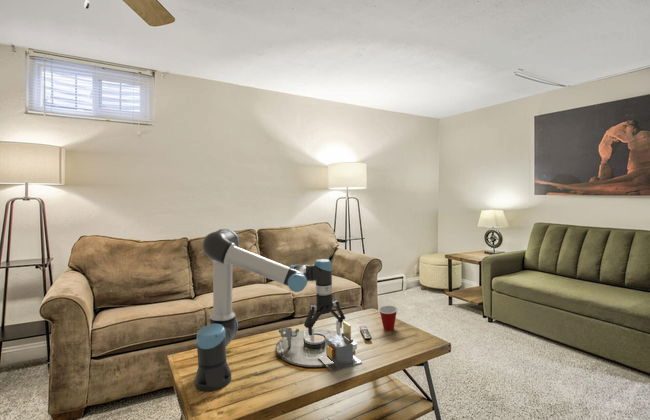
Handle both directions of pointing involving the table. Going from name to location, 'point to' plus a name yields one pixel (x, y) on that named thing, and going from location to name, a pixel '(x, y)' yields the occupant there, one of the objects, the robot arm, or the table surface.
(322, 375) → the table surface
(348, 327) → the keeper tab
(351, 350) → the grey boxy piece
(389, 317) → the plastic cup
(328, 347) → the lynch pin
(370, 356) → the table surface
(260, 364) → the table surface
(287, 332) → the mechanical component
